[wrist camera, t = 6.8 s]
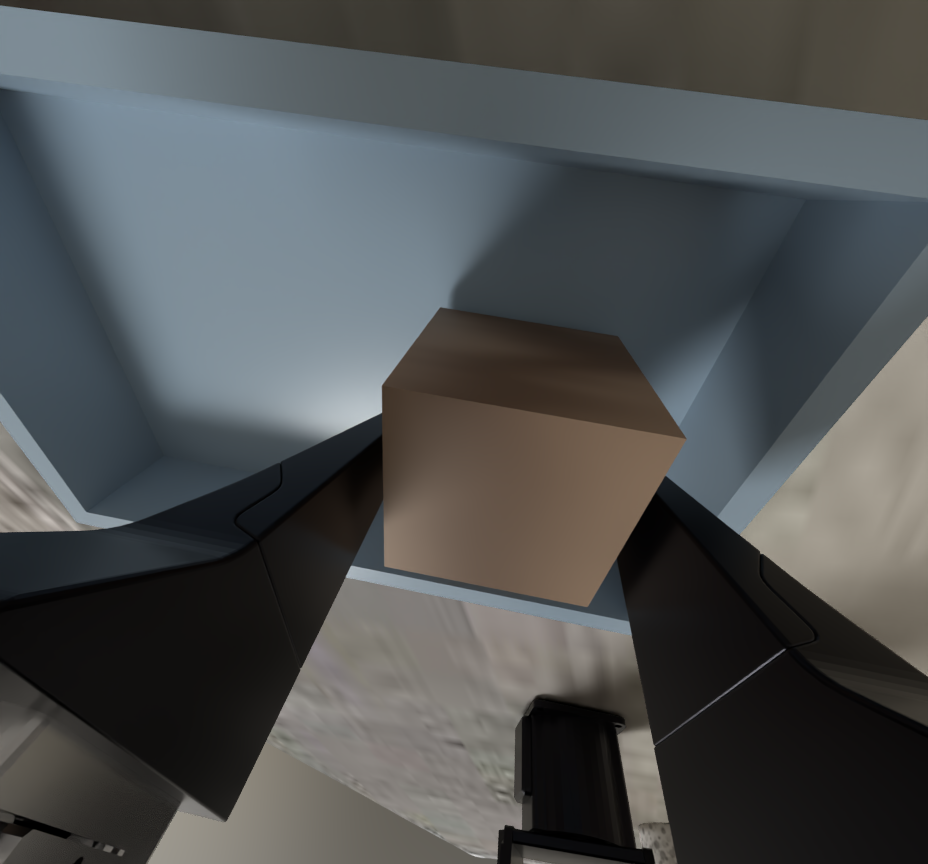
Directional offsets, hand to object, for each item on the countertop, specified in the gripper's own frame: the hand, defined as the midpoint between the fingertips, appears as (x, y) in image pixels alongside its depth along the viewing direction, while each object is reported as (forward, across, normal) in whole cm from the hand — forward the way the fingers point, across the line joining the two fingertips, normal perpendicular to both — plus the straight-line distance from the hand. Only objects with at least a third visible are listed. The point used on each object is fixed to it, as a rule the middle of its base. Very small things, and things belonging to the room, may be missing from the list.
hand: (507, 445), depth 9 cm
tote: (+4, +4, 0) cm, 6 cm away
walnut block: (+2, 0, 0) cm, 2 cm away
